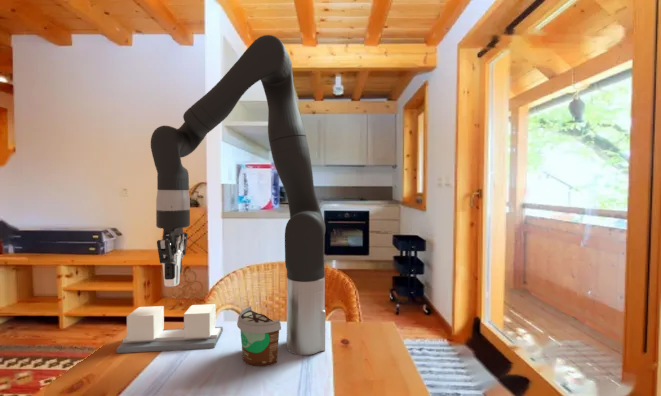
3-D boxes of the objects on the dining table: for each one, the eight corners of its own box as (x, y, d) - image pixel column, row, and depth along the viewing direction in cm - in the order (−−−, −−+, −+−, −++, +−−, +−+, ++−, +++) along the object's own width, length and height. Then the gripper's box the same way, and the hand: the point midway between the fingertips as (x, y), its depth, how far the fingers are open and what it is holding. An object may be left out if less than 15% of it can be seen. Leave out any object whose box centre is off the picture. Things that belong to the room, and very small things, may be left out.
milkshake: (176, 288, 75) (175, 247, 75) (157, 287, 76) (156, 246, 76) (188, 282, 79) (188, 244, 79) (170, 281, 81) (169, 243, 80)
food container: (226, 355, 72) (226, 312, 72) (249, 345, 76) (249, 305, 76) (257, 377, 63) (257, 329, 63) (281, 365, 68) (281, 320, 68)
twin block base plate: (222, 331, 84) (222, 301, 84) (214, 347, 75) (214, 315, 75) (136, 335, 81) (135, 305, 81) (116, 353, 72) (116, 319, 72)
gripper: (178, 210, 71) (179, 284, 71) (197, 206, 85) (197, 268, 85) (143, 210, 70) (144, 285, 70) (168, 206, 84) (169, 269, 84)
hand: (173, 276), depth 78 cm, fingers closed on milkshake, 4 cm apart
